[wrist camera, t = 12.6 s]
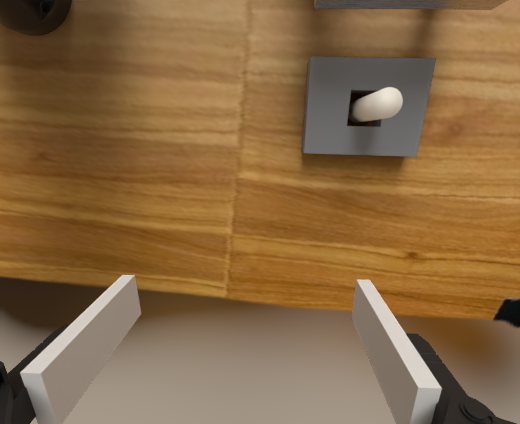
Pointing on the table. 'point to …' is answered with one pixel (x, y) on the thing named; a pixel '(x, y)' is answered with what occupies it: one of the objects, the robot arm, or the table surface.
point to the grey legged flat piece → (409, 4)
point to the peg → (376, 105)
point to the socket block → (364, 82)
